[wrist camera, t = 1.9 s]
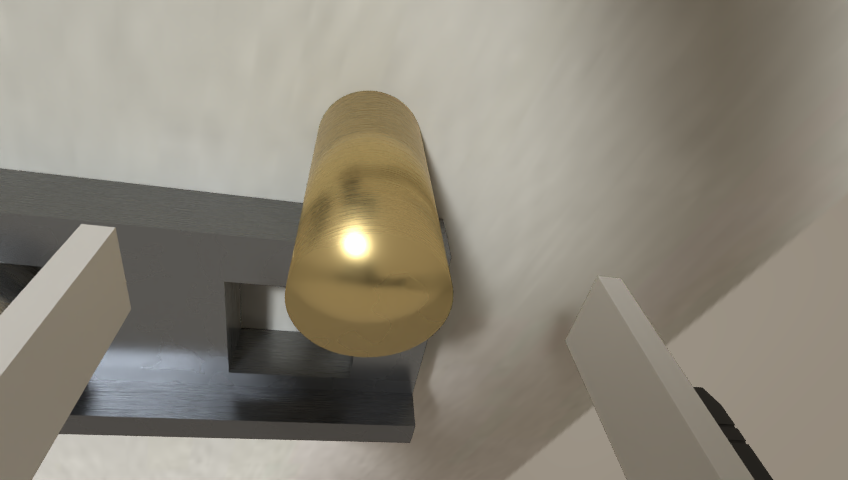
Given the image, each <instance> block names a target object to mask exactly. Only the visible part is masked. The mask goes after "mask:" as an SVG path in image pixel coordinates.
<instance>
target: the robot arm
mask: <svg viewBox="0 0 848 480" xmlns="http://www.w3.org/2000/svg"><path fill="white" fill-rule="evenodd" d="M130 310H131V305H130V300H129V295H128V290H127V285H126V279H125V274H124V269H123V264H122V258H121V253H120V248H119V243H118V238H117V232H116V227H107V226H97V225H87V224H81V225H80V226H79V227H78V228H77V229H76V231H75V232H74V233H73V234H72V235H71V236H70V237H69V238H68V240H67V241H66V242H65V243H64V244H63V245H62V246H61V247H60V249H59V250H58V251H57V252H56V253H55V254H54V255H53V256H52V258H51V259H50V260H49V261H48V262H47V263H46V264H45V265H44V267H43V268H42V269H41V270H40V271H39V272H38V273H37V274H36V276H35V277H34V278H33V279H32V280H31V281H30V282H29V283H28V285H27V286H26V287H25V288H24V289H23V290H22V291H21V292H20V294H19V295H18V296H17V297H16V298H15V299H14V300H13V301H12V303H11V304H10V305H9V306H8V307H7V308H6V309H5V310H4V312H3V313H2V314H1V315H0V480H32V479H33V477H34V475H35V473H36V472H37V470H38V468H39V467H40V465H41V463H42V461H43V460H44V458H45V456H46V455H47V453H48V451H49V449H50V448H51V446H52V444H53V442H54V441H55V439H56V437H57V436H58V434H59V432H60V430H61V429H62V427H63V425H64V424H65V422H66V420H67V418H68V417H69V415H70V413H71V412H72V410H73V408H74V406H75V405H76V403H77V401H78V400H79V398H80V396H81V394H82V393H83V391H84V389H85V388H86V386H87V384H88V382H89V381H90V379H91V377H92V375H93V374H94V372H95V370H96V369H97V367H98V365H99V363H100V362H101V360H102V358H103V357H104V355H105V353H106V351H107V350H108V348H109V346H110V345H111V343H112V341H113V339H114V338H115V336H116V334H117V333H118V331H119V329H120V327H121V326H122V324H123V322H124V321H125V319H126V317H127V315H128V314H129V312H130ZM565 342H566V344H567V346H568V348H569V351H570V353H571V355H572V357H573V360H574V362H575V364H576V366H577V369H578V371H579V373H580V375H581V378H582V380H583V382H584V384H585V387H586V389H587V391H588V393H589V396H590V398H591V400H592V402H593V405H594V407H595V409H596V411H597V413H598V416H599V418H600V420H601V423H602V425H603V427H604V430H605V432H606V434H607V436H608V438H609V441H610V443H611V445H612V448H613V450H614V452H615V454H616V457H617V459H618V461H619V463H620V466H621V468H622V470H623V472H624V475H625V476H626V479H627V480H773V479H772V478H771V476H770V475H769V473H768V472H767V470H766V469H765V467H764V466H763V465H762V463H761V462H760V460H759V459H758V457H757V456H756V454H755V453H754V452H753V450H752V449H751V447H750V446H749V445H748V444H746V443H745V441H746V440H745V439H744V437H743V436H742V434H741V433H740V431H739V430H738V429H737V428H735V427H734V425H735V424H734V423H733V421H732V420H731V418H730V417H729V416H728V414H727V413H726V411H725V410H724V408H723V407H722V406H721V405H720V404H719V403H718V402H717V401H716V400H715V399H714V398H713V397H712V396H711V395H710V394H709V393H708V392H707V391H705V390H704V389H703V388H701V387H700V388H699V387H693V386H692V385H691V383H690V382H689V380H688V379H687V377H686V376H685V374H684V373H683V371H682V370H681V368H680V367H679V365H678V364H677V362H676V361H675V359H674V358H673V357H672V355H671V353H670V352H669V350H668V349H667V347H666V346H665V344H664V343H663V341H662V340H661V338H660V337H659V335H658V334H657V332H656V331H655V329H654V328H653V326H652V325H651V323H650V322H649V320H648V319H647V317H646V316H645V314H644V313H643V311H642V309H641V308H640V306H639V305H638V303H637V302H636V300H635V299H634V297H633V296H632V294H631V293H630V291H629V290H628V288H627V287H626V285H625V284H624V282H623V281H622V279H621V278H614V277H604V276H597V278H596V280H595V282H594V284H593V286H592V288H591V290H590V292H589V294H588V296H587V298H586V300H585V302H584V304H583V306H582V308H581V310H580V312H579V314H578V316H577V318H576V320H575V322H574V324H573V326H572V328H571V330H570V332H569V334H568V336H567V338H566V340H565Z"/></svg>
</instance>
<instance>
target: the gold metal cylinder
mask: <svg viewBox="0 0 848 480" xmlns="http://www.w3.org/2000/svg"><path fill="white" fill-rule="evenodd" d="M452 302H453V286H452V281H451V276H450V271H449V267H448V262H447V257H446V252H445V247H444V243H443V238H442V233H441V228H440V223H439V219H438V214H437V209H436V204H435V199H434V195H433V190H432V185H431V180H430V176H429V171H428V166H427V161H426V156H425V152H424V147H423V142H422V137H421V132H420V128H419V125H418V122H417V120H416V118H415V116H414V115H413V113H412V112H411V111H410V109H409V108H408V107H407V106H406V105H405V104H404V103H402V102H401V101H400V100H398V99H397V98H395V97H393V96H391V95H388V94H385V93H382V92H377V91H360V92H355V93H351V94H348V95H346V96H344V97H342V98H340V99H339V100H337V101H336V102H335V103H334V104H332V105H331V106H330V108H329V109H328V110H327V111H326V113H325V114H324V116H323V118H322V120H321V122H320V126H319V130H318V135H317V139H316V144H315V149H314V154H313V159H312V163H311V168H310V173H309V178H308V183H307V187H306V192H305V197H304V202H303V207H302V211H301V216H300V221H299V226H298V231H297V236H296V240H295V245H294V250H293V255H292V260H291V264H290V269H289V274H288V279H287V284H286V290H285V304H286V309H287V312H288V314H289V317H290V319H291V321H292V322H293V324H294V325H295V327H296V328H297V329H298V330H299V331H300V332H301V333H302V334H303V335H304V336H305V337H306V338H307V339H309V340H310V341H312V342H313V343H315V344H316V345H318V346H320V347H322V348H324V349H327V350H329V351H332V352H335V353H338V354H342V355H347V356H354V357H382V356H388V355H393V354H397V353H400V352H403V351H406V350H409V349H411V348H413V347H415V346H417V345H419V344H421V343H422V342H424V341H426V340H427V339H428V338H430V337H431V336H432V335H433V334H434V333H435V332H436V331H438V330H439V328H440V327H441V326H442V325H443V323H444V322H445V320H446V319H447V317H448V315H449V312H450V310H451V307H452Z"/></svg>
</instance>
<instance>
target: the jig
mask: <svg viewBox="0 0 848 480" xmlns="http://www.w3.org/2000/svg"><path fill="white" fill-rule="evenodd" d="M302 207H303V203H296V202H287V201H279V200H270V199H261V198H252V197H244V196H235V195H226V194H218V193H209V192H200V191H191V190H183V189H174V188H165V187H156V186H148V185H139V184H130V183H122V182H113V181H104V180H95V179H87V178H78V177H69V176H61V175H52V174H43V173H34V172H26V171H17V170H8V169H0V263H5V264H17V265H29V266H40V267H41V269H42V268H43V267H44V265H45V264H46V263H47V262H48V261H49V260H50V259H51V258H52V256H53V255H54V254H55V253H56V252H57V251H58V250H59V249H60V247H61V246H62V245H63V244H64V243H65V242H66V241H67V240H68V238H69V237H70V236H71V235H72V234H73V233H74V232H75V231H76V229H77V228H78V227H79V226H80V225H81V224H87V225H97V226H107V227H116V232H117V238H118V243H119V248H120V253H121V258H122V264H123V269H124V274H125V279H126V285H127V290H128V295H129V300H130V305H131V310H130V312H129V314H128V315H127V317H126V319H125V321H124V322H123V324H122V326H121V327H120V329H119V331H118V333H117V334H116V336H115V338H114V339H113V341H112V343H111V345H110V346H109V348H108V350H107V351H106V353H105V355H104V357H103V358H102V360H101V362H100V363H99V365H98V367H97V369H96V370H95V372H94V374H93V375H92V377H91V379H90V381H89V382H88V384H87V386H86V388H85V389H84V391H83V393H82V394H81V396H80V398H79V400H78V401H77V403H76V405H75V406H74V408H73V410H72V412H71V413H70V415H69V417H68V418H67V420H66V422H65V424H64V425H63V427H62V429H61V430H60V432H59V434H84V435H123V436H162V437H201V438H240V439H280V440H319V441H358V442H397V443H410V441H411V438H412V435H413V432H414V428H415V419H414V407H413V395H412V393H413V389H414V386H415V382H416V379H417V375H418V372H419V368H420V365H421V362H422V358H423V355H424V351H425V348H426V344H427V341H428V339H427V340H426V341H424V342H422V343H421V344H419V345H417V346H415V347H413V348H411V349H409V350H406V351H403V352H400V353H397V354H393V355H388V356H382V357H354V356H347V355H342V354H338V353H335V352H332V351H329V350H327V349H324V348H322V347H320V346H318V345H316V344H315V343H313V342H312V341H310V340H309V339H307V338H306V337H305V336H304V335H303V334H302V333H301V332H289V331H274V330H259V329H244V328H241V293H240V283H246V284H258V285H271V286H283V287H286V284H287V279H288V274H289V269H290V264H291V260H292V255H293V250H294V245H295V240H296V236H297V231H298V226H299V221H300V216H301V211H302ZM439 223H440V228H441V233H442V238H443V243H444V247H445V252H446V257H447V262H448V267H449V264H450V260H451V254H450V249H449V245H448V240H447V236H446V231H445V227H444V222H443V219H439Z"/></svg>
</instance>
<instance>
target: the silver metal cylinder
mask: <svg viewBox="0 0 848 480" xmlns="http://www.w3.org/2000/svg"><path fill="white" fill-rule="evenodd" d="M40 270H41V267H40V266H29V265H17V264H5V263H0V315H1V314H2V313H3V312H4V310H5V309H6V308H7V307H8V306H9V305H10V304H11V303H12V301H13V300H14V299H15V298H16V297H17V296H18V295H19V294H20V292H21V291H22V290H23V289H24V288H25V287H26V286H27V285H28V283H29V282H30V281H31V280H32V279H33V278H34V277H35V276H36V274H37V273H38V272H39V271H40Z"/></svg>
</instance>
